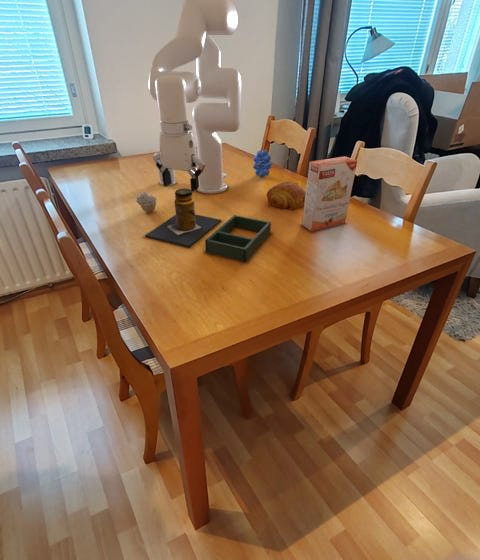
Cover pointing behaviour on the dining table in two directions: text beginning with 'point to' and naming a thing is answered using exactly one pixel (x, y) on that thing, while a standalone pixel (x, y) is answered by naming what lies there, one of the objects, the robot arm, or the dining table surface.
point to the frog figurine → (146, 202)
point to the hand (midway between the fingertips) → (181, 187)
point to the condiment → (184, 212)
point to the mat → (186, 238)
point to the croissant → (286, 195)
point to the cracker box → (328, 192)
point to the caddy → (237, 238)
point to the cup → (170, 173)
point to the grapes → (262, 163)
